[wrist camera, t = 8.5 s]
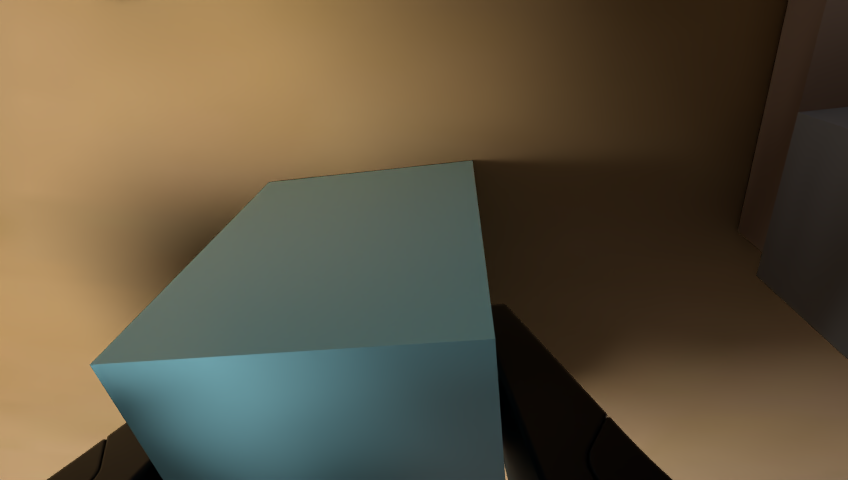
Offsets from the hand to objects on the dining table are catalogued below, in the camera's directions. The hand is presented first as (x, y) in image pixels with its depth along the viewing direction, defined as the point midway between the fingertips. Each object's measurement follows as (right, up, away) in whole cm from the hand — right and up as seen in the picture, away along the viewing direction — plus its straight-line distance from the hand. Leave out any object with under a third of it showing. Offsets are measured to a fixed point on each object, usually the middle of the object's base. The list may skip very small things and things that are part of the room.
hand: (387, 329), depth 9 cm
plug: (0, -1, +2) cm, 2 cm away
